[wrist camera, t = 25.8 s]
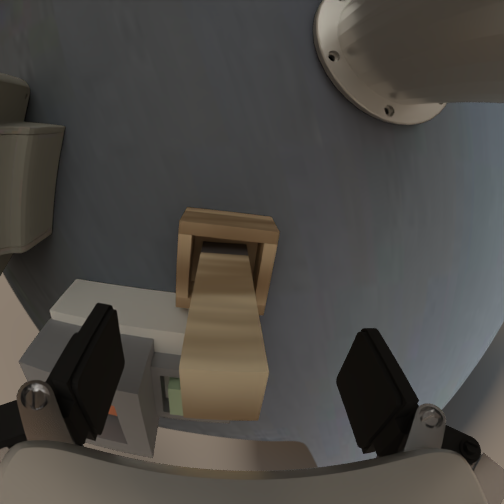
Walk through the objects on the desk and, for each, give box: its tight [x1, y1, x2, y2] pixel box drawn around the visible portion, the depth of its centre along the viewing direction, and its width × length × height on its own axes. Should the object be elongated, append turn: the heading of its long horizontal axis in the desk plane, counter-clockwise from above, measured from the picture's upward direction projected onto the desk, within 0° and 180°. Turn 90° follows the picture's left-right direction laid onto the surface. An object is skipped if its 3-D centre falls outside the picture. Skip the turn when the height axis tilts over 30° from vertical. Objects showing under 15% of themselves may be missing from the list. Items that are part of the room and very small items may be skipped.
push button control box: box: [19, 279, 230, 458], centre depth 19 cm, size 10×14×10 cm
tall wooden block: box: [179, 241, 269, 421], centre depth 15 cm, size 3×3×12 cm
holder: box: [176, 207, 280, 315], centre depth 20 cm, size 6×6×4 cm
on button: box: [168, 377, 183, 416], centre depth 19 cm, size 3×3×2 cm
